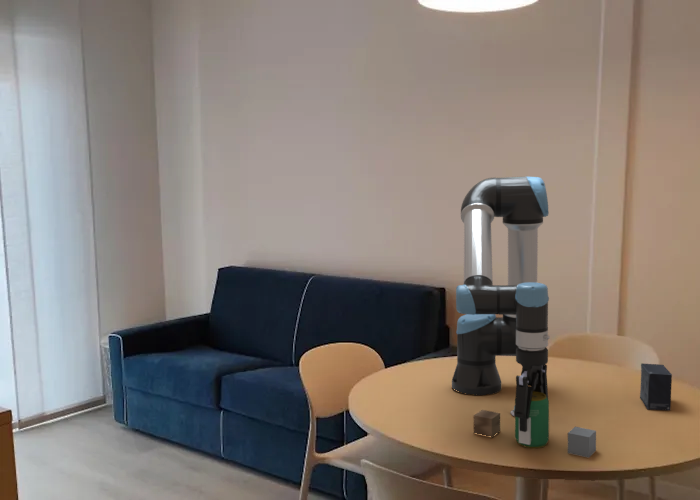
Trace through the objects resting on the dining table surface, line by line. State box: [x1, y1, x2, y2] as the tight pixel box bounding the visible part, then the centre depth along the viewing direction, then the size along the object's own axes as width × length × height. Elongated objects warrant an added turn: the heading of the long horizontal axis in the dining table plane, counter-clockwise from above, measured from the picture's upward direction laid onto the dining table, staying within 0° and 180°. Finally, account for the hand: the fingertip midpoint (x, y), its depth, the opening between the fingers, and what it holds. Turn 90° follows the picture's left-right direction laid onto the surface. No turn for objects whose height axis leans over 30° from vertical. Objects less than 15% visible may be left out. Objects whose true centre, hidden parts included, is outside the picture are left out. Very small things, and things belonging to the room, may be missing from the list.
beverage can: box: [514, 391, 550, 449], centre depth 170 cm, size 8×8×12 cm
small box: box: [639, 363, 673, 412], centre depth 195 cm, size 11×6×10 cm, turn 168°
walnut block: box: [473, 409, 501, 438], centre depth 178 cm, size 5×5×5 cm
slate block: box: [567, 426, 597, 458], centre depth 164 cm, size 5×5×5 cm
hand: (531, 437), depth 171 cm, fingers closed on beverage can, 8 cm apart
